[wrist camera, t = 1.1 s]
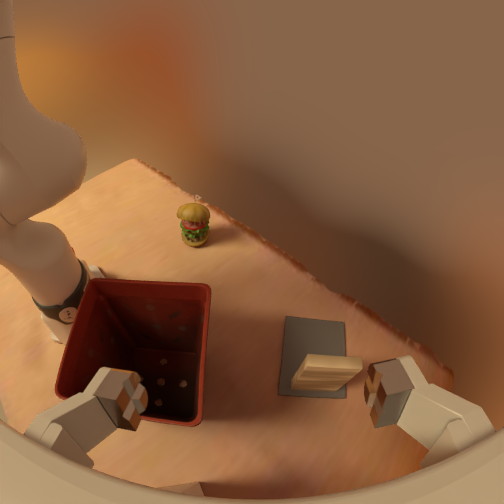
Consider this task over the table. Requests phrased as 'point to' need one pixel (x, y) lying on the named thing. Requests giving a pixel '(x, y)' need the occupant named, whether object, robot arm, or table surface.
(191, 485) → the milk carton
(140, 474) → the table surface
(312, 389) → the picture frame
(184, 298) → the plant pot
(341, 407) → the table surface
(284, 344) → the mat
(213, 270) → the table surface
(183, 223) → the hamburger
